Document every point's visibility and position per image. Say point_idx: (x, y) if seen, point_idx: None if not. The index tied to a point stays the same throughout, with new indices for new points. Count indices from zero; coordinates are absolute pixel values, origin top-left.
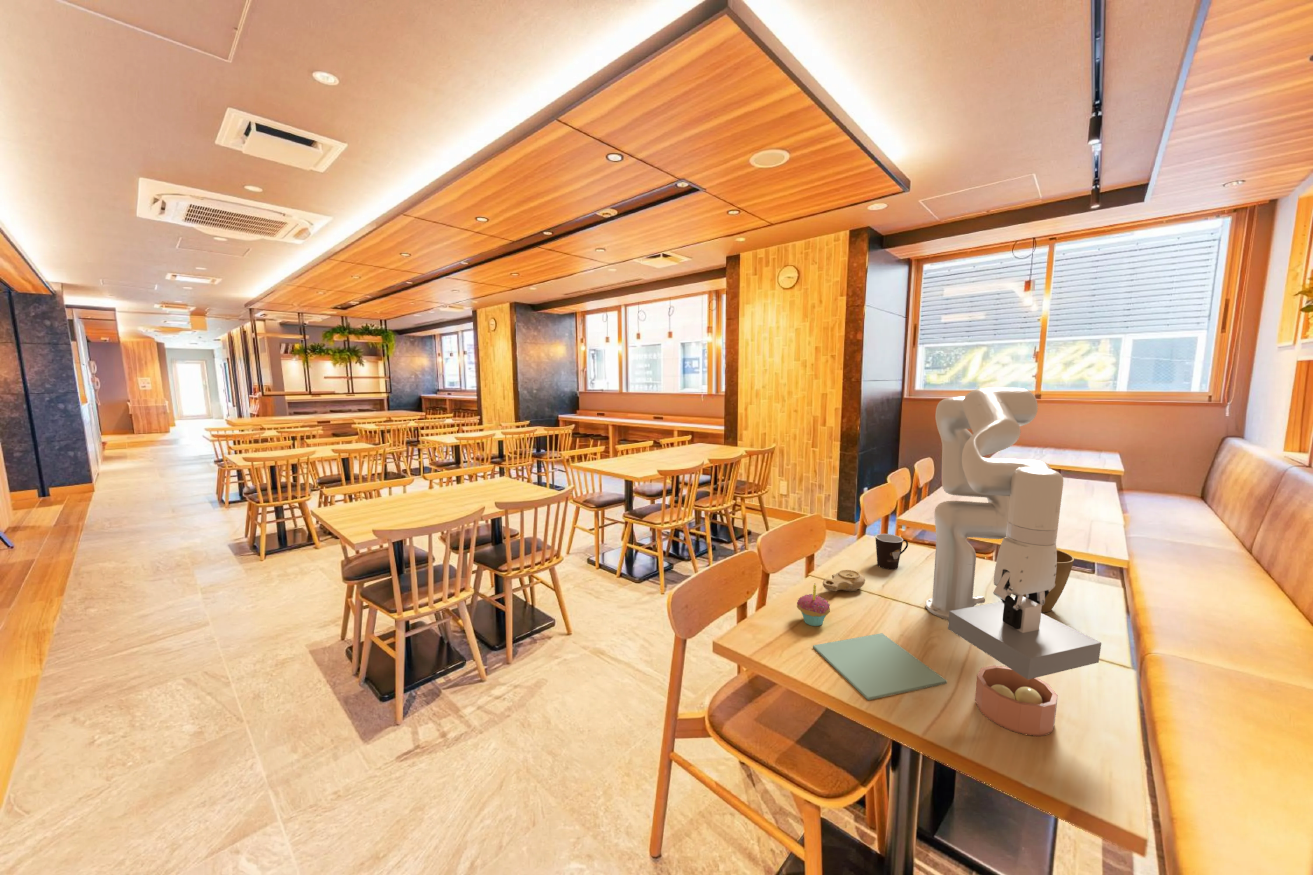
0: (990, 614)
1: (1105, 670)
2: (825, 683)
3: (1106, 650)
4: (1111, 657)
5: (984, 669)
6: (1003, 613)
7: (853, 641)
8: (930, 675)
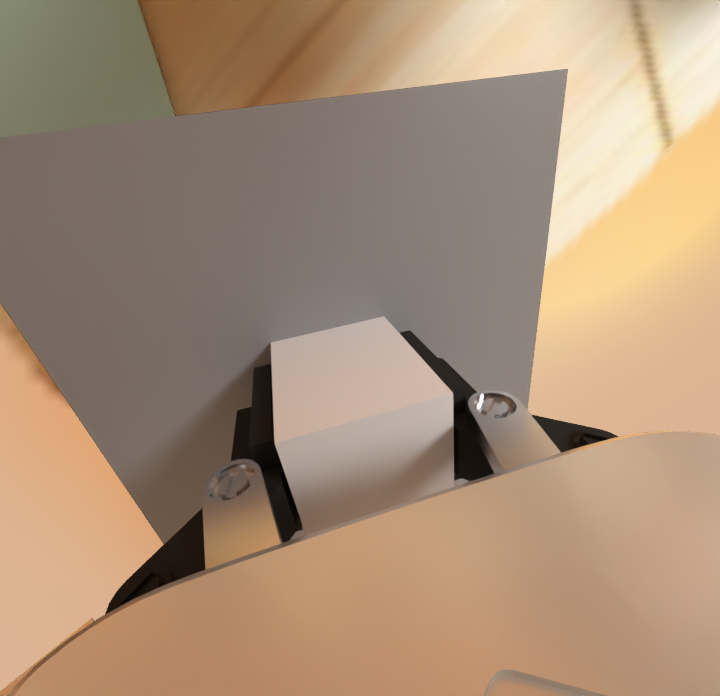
0: (254, 252)
1: (622, 159)
2: None
3: (715, 76)
4: (689, 110)
5: None
6: (253, 392)
7: None
8: (132, 95)
